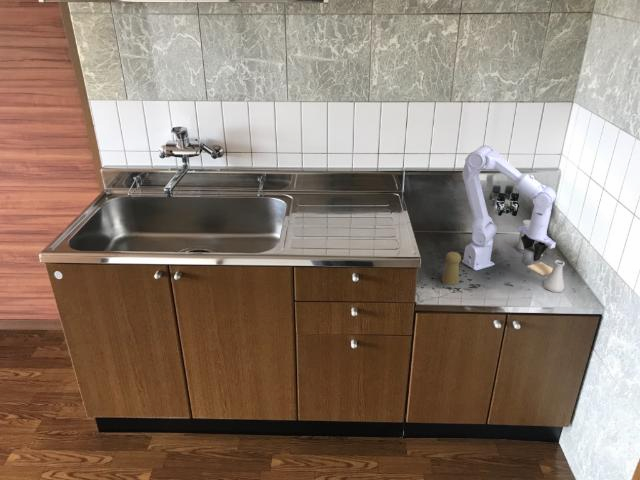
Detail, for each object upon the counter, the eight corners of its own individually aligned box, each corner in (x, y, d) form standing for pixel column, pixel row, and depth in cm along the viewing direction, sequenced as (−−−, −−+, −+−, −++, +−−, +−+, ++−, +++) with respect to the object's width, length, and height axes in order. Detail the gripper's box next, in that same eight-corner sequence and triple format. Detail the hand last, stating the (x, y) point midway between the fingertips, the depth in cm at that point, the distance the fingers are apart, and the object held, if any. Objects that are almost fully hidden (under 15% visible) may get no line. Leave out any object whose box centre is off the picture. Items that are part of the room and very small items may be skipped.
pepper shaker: (459, 277, 185) (463, 250, 180) (458, 286, 180) (462, 258, 175) (442, 275, 187) (445, 248, 182) (440, 283, 182) (444, 256, 177)
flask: (562, 295, 175) (569, 269, 171) (540, 289, 179) (546, 264, 174) (566, 285, 181) (572, 260, 176) (544, 279, 184) (550, 255, 179)
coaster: (541, 276, 186) (542, 274, 186) (526, 267, 192) (527, 265, 191) (555, 271, 189) (555, 270, 189) (540, 263, 195) (540, 261, 194)
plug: (527, 266, 179) (529, 253, 177) (519, 261, 182) (521, 249, 180) (542, 261, 182) (545, 248, 180) (534, 256, 185) (537, 244, 183)
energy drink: (532, 253, 201) (538, 226, 196) (517, 252, 202) (523, 224, 197) (530, 247, 206) (535, 220, 200) (516, 246, 207) (521, 219, 201)
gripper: (565, 228, 171) (556, 264, 177) (531, 212, 183) (524, 246, 189) (550, 233, 168) (541, 269, 174) (516, 216, 180) (509, 250, 186)
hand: (531, 257), depth 181 cm, fingers closed on plug, 3 cm apart
